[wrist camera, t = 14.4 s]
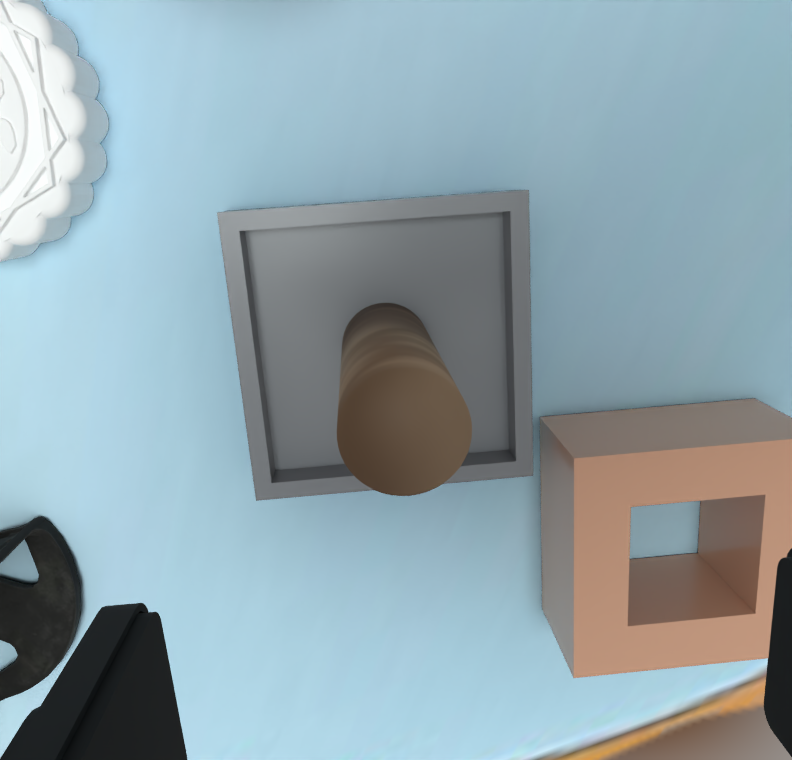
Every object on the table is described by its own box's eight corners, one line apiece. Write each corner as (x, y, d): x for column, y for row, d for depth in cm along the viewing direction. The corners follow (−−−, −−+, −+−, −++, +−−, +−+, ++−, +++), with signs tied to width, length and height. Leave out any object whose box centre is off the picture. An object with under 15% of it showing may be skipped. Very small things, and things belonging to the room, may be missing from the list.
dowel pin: (426, 299, 31) (469, 361, 20) (430, 383, 32) (474, 489, 21) (338, 306, 31) (330, 373, 20) (346, 390, 32) (342, 501, 21)
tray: (515, 189, 31) (528, 190, 29) (520, 455, 35) (533, 475, 32) (227, 210, 31) (217, 212, 28) (262, 478, 34) (256, 500, 32)
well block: (754, 398, 35) (827, 435, 29) (739, 589, 38) (803, 654, 32) (539, 416, 34) (574, 458, 29) (542, 608, 37) (573, 678, 32)
